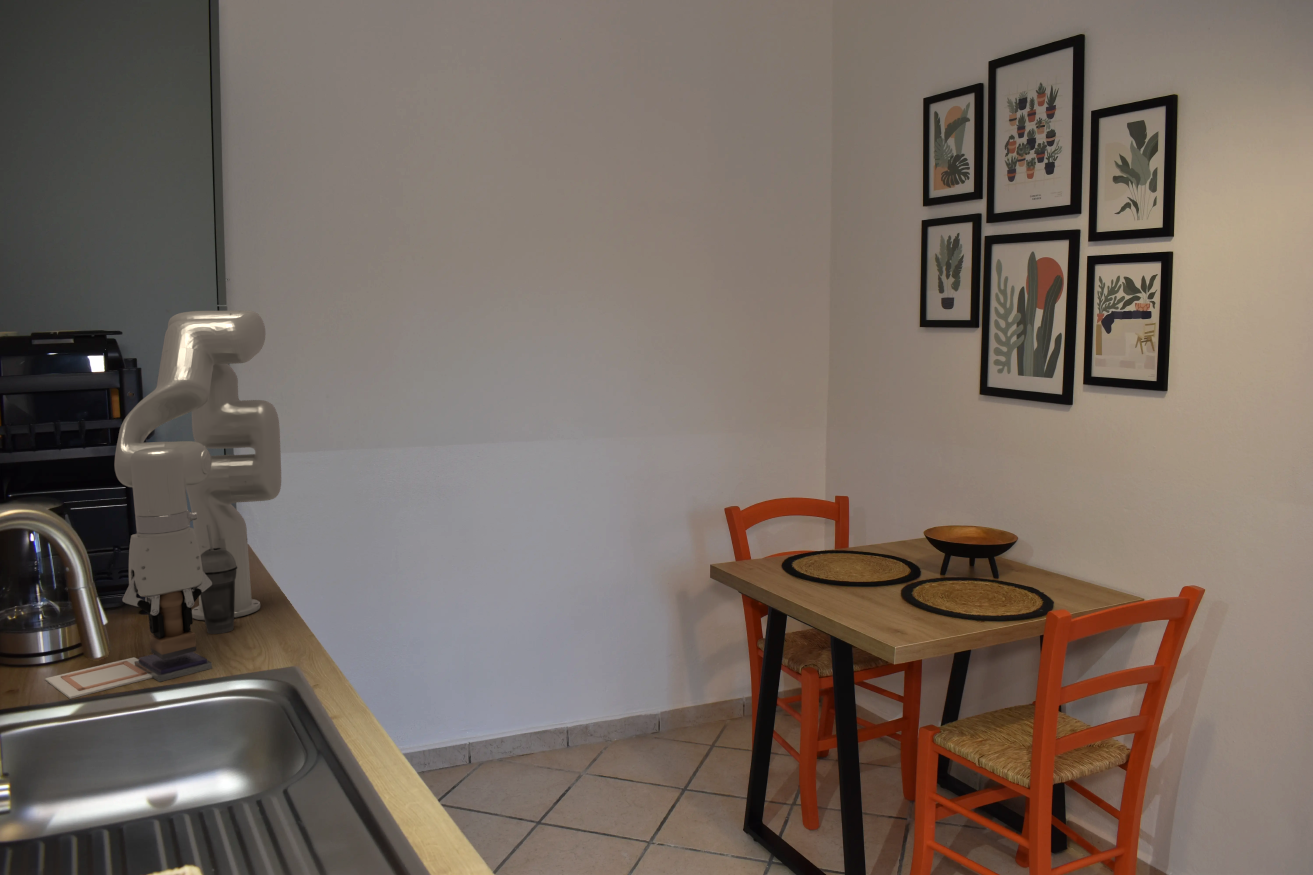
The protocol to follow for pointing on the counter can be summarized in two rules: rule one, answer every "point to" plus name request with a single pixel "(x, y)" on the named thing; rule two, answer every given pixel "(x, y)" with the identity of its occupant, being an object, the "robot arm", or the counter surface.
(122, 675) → the print card
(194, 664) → the ink pad
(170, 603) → the stamp
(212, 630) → the beverage cup
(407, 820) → the counter surface
